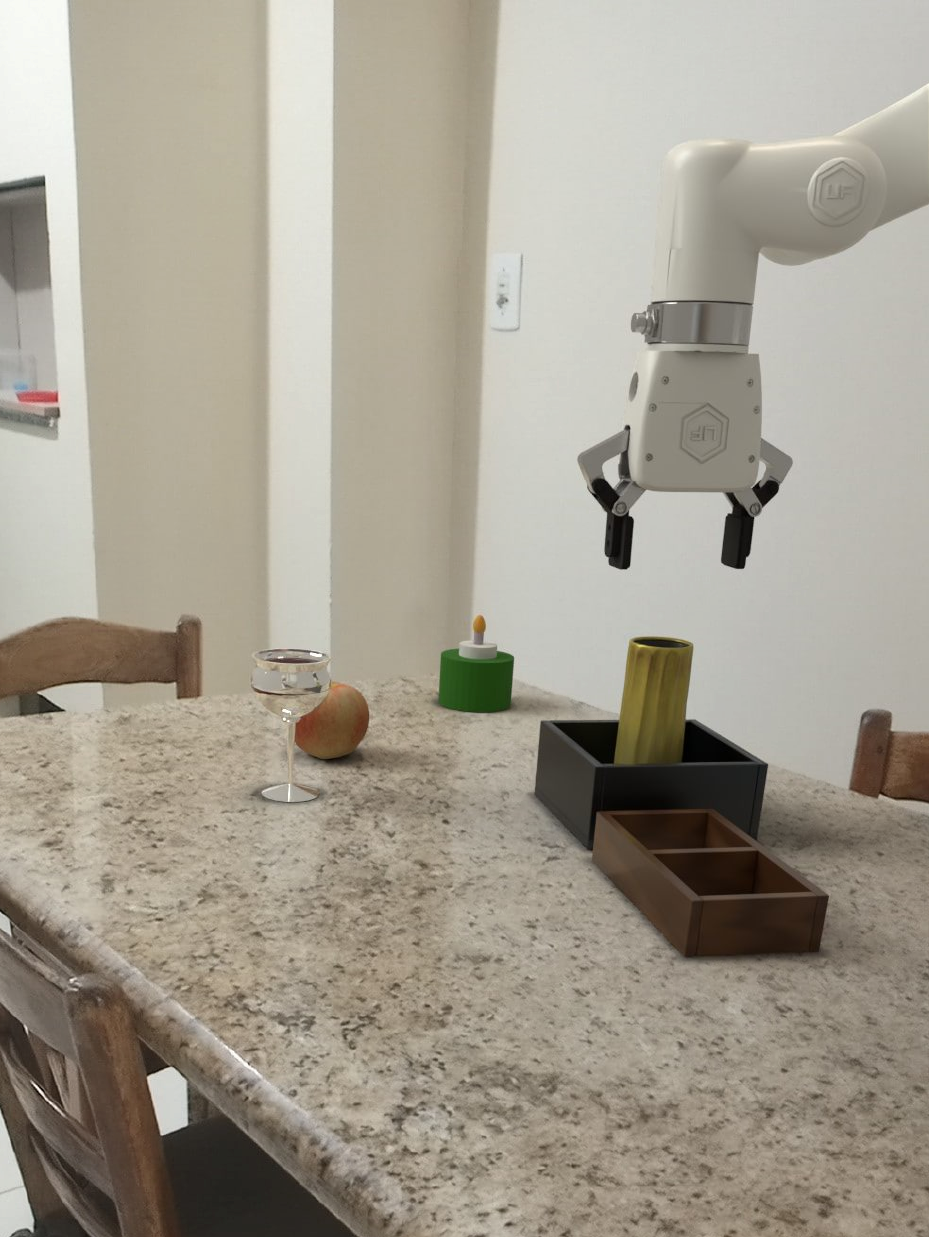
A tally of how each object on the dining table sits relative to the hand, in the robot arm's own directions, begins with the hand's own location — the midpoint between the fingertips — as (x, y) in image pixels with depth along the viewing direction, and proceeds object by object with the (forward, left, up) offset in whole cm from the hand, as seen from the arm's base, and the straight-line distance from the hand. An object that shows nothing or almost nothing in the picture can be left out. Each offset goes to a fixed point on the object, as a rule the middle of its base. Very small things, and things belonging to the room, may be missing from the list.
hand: (676, 567), depth 103 cm
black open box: (+1, 0, -21) cm, 21 cm away
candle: (+5, -42, -21) cm, 47 cm away
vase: (0, 0, -20) cm, 20 cm away
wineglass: (+30, -9, -21) cm, 38 cm away
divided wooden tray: (+4, +19, -21) cm, 29 cm away
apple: (+25, -21, -21) cm, 39 cm away
